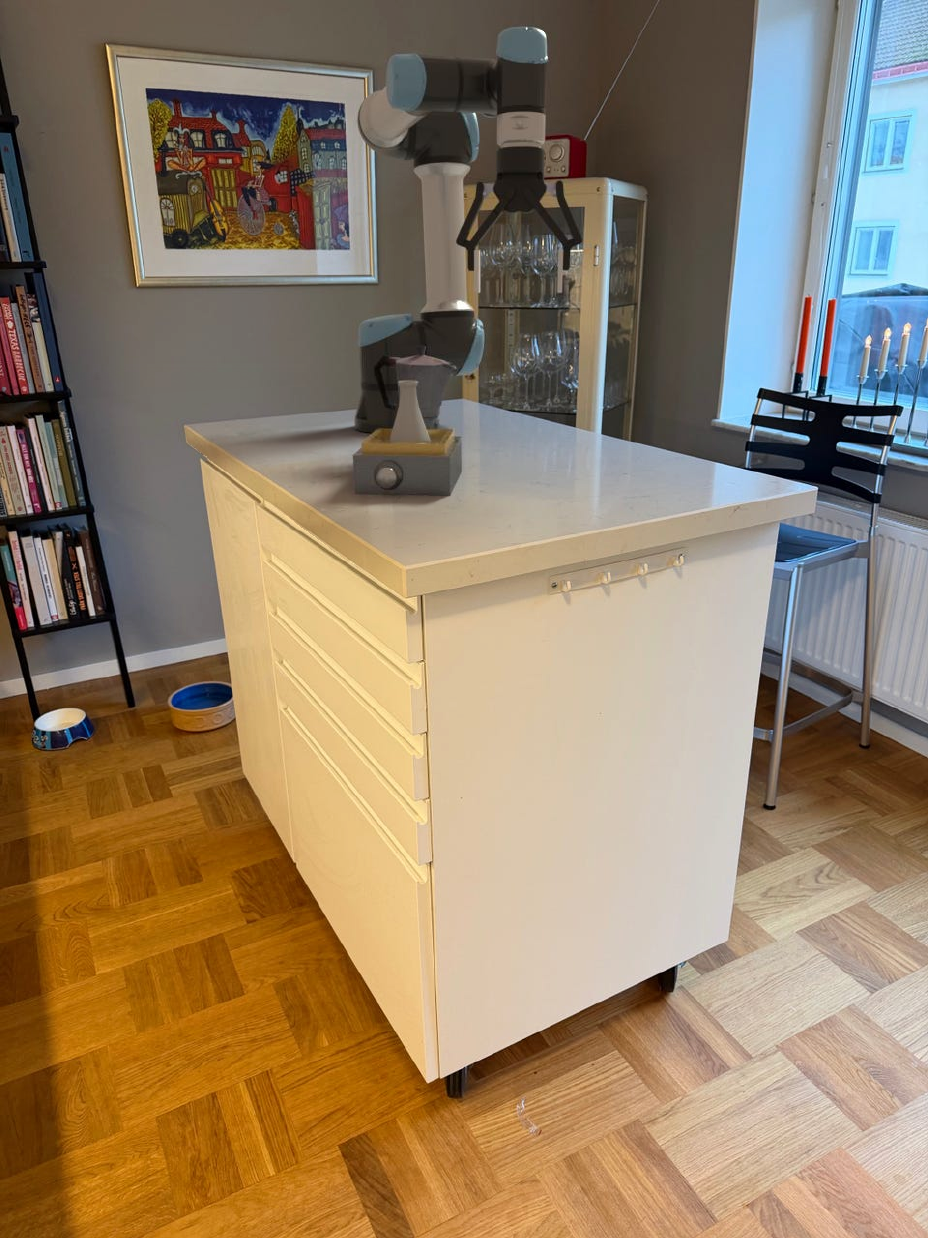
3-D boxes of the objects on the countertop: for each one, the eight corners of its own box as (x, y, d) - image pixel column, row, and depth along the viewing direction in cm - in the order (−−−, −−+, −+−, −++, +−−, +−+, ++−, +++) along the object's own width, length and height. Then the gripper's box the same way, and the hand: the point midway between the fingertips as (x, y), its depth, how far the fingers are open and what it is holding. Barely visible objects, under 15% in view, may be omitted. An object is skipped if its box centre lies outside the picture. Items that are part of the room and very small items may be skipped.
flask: (382, 442, 141) (379, 380, 138) (424, 439, 144) (422, 377, 140) (394, 450, 135) (392, 385, 131) (438, 447, 137) (437, 382, 134)
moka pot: (451, 465, 153) (450, 347, 146) (368, 462, 156) (363, 346, 149) (462, 454, 162) (461, 343, 155) (383, 451, 165) (379, 342, 157)
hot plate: (376, 469, 150) (374, 426, 147) (461, 471, 149) (461, 427, 146) (351, 497, 132) (348, 448, 129) (448, 499, 131) (447, 449, 128)
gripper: (438, 145, 132) (440, 293, 140) (602, 142, 130) (594, 292, 138) (444, 151, 139) (446, 292, 147) (600, 148, 137) (593, 291, 145)
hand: (518, 292), depth 143 cm, fingers open, 13 cm apart
